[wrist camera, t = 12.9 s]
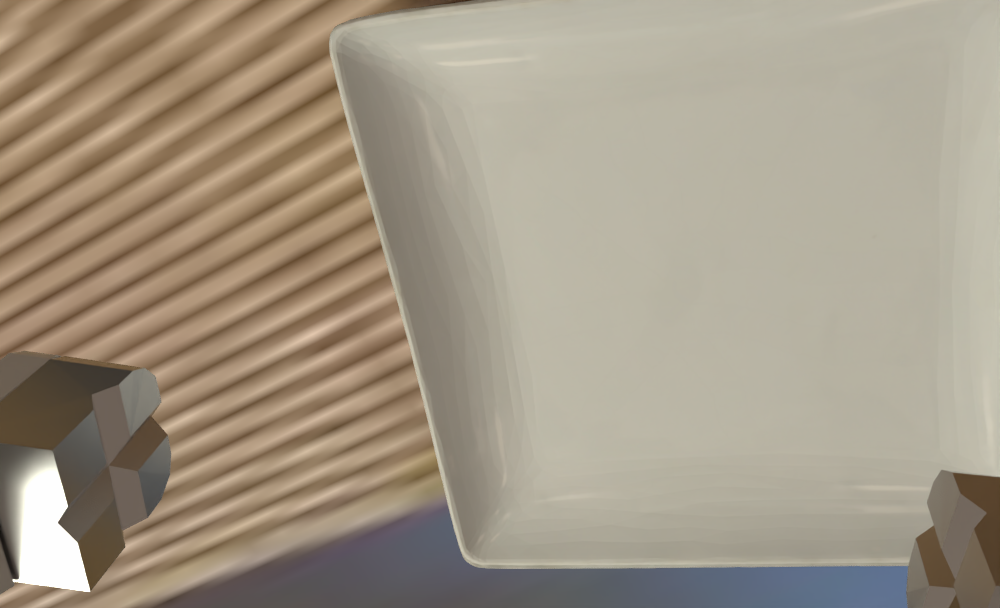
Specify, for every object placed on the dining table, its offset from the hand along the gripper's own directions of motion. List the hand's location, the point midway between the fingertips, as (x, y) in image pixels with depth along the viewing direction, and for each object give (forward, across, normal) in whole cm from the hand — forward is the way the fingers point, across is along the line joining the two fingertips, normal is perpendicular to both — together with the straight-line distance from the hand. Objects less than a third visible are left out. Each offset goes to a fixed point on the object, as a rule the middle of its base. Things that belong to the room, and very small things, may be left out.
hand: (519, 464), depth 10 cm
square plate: (+30, -4, +12) cm, 32 cm away
